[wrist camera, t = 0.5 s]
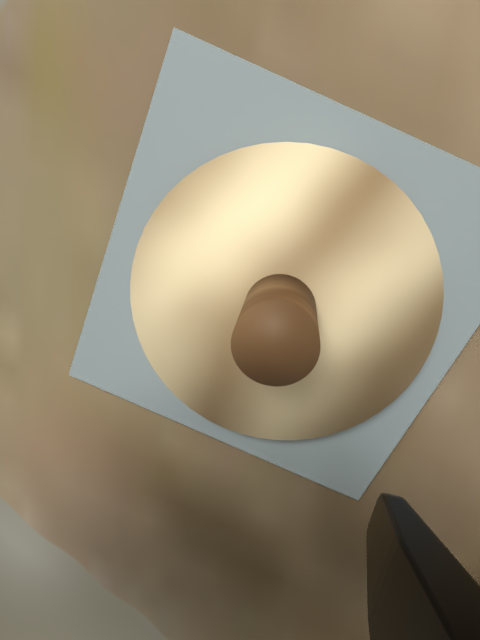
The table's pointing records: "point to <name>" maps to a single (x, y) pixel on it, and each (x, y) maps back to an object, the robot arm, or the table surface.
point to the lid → (286, 291)
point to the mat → (269, 127)
